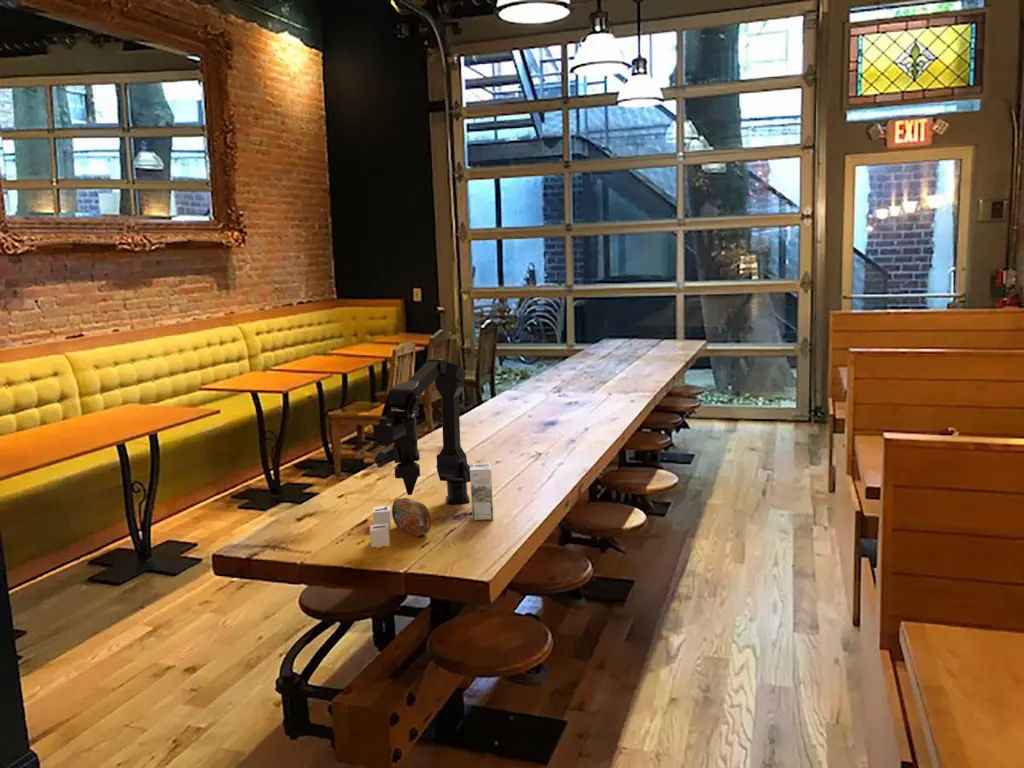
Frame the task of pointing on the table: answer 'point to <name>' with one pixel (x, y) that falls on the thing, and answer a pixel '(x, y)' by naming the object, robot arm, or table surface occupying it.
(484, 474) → the syrup box
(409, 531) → the tin
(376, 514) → the lettered block t
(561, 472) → the table surface
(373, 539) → the lettered block i
